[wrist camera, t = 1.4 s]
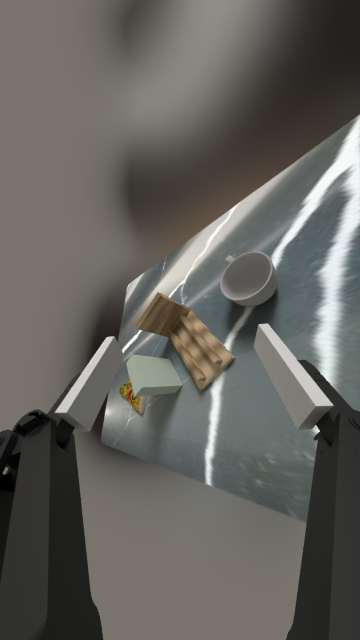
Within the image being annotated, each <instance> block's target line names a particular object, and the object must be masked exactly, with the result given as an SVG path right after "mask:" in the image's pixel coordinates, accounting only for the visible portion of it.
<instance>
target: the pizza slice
mask: <svg viewBox="0 0 360 640" xmlns="http://www.w3.org/2000/svg"><path fill="white" fill-rule="evenodd" d="M119 392H120V393H121V395H122V396H123V397H124V398H126V399H127V400H128V401H129V402H130V404H131V405H132V406H133V408H134V409H135V410H136V411H139V413H140V414H144V411H145V405H146V398H147V396H138V397H134V393H133V389H132V385H131V380H129V382H128V383H127V384H125V385H124V386H123V387H122V388H121V389H120V391H119Z"/></svg>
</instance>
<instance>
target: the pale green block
mask: <svg viewBox="0 0 360 640" xmlns="http://www.w3.org/2000/svg"><path fill="white" fill-rule="evenodd" d="M127 368H128V372H129V376H130V380H131V385H132V389H133V393H134V397H138V396H148V395H158V394H169V393H176V392H177V391H178V390H179V389H180V388H181V387H182V386H183V385H182V383H181V381H180V379H179V377H178V375H177V373H176V371H175V369H174V367H173V365H172V363H171V361H170V359H163V358H155V357H147V356H139V355H132V356H131V358H130V359H129V360H128V362H127Z"/></svg>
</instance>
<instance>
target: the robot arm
mask: <svg viewBox="0 0 360 640" xmlns="http://www.w3.org/2000/svg"><path fill="white" fill-rule="evenodd" d="M254 349H255V351H256V353H257V355H258V357H259V358H260V360H261V362H262V364H263V366H264V368H265V370H266V371H267V373H268V375H269V377H270V379H271V381H272V383H273V384H274V386H275V388H276V390H277V392H278V394H279V396H280V397H281V399H282V401H283V403H284V405H285V407H286V409H287V410H288V412H289V414H290V416H291V418H292V420H293V422H294V423H295V425H296V427H297V429H312V428H313V427H314V426H315V425H317V427H318V429H319V430H320V432H319V433H318V434H317V435H316V436H315V437H314V440H317V439H318V443H317V451H316V458H315V466H314V473H313V481H312V488H311V496H310V503H309V510H308V518H307V525H306V533H305V540H304V548H303V556H302V563H301V571H300V578H299V585H298V593H297V600H296V607H295V615H294V621H293V624H292V627H291V629H290V631H289V632H288V635H287V639H286V640H360V412H359V411H356V410H353V409H352V408H351V407H350V406H349V405H348V404H347V403H346V401H345V400H344V399H343V398H342V397H341V396H340V395H339V394H338V392H337V391H336V390H335V389H334V388H333V387H332V386H331V385H330V383H329V382H328V381H326V379H325V378H324V377H323V376H322V375H321V374H320V372H319V371H318V370H317V369H316V368H315V367H314V366H313V365H312V364H310V363H309V362H307V361H306V360H297V359H296V358H295V357H294V356H293V354H292V353H291V352H290V351H289V349H288V348H287V347H286V346H285V344H284V343H283V342H282V341H281V339H280V338H279V337H278V336H277V334H276V333H275V332H274V331H273V329H272V328H271V327H270V326H269V324H258V329H257V333H256V338H255V343H254ZM123 358H124V354H123V352H122V350H121V348H120V347H119V345H118V343H117V341H116V339H115V337H107V338H106V339H105V341H104V342H103V343H102V345H101V346H100V348H99V349H98V351H97V352H96V354H95V355H94V356H93V358H92V359H91V361H90V362H89V364H88V365H87V367H86V368H85V370H84V371H83V372H82V373H79V374H78V375H77V376H75V377H74V378H73V379H72V381H71V382H70V384H69V385H68V387H67V388H66V389H65V390H64V393H62V395H61V396H60V397H59V399H58V400H57V401H56V403H55V404H54V406H53V407H52V408H51V410H50V411H49V412H48V414H45V413H44V412H42V411H41V410H33V411H31V412H29V413H28V414H26V415H25V416H23V417H22V418H21V419H20V420H19V421H18V422H17V423H16V425H15V426H14V428H13V431H11V430H5V431H2V432H0V640H103V635H102V627H101V621H100V616H99V612H98V609H97V607H96V606H95V604H94V603H93V601H92V597H91V592H90V583H89V573H88V564H87V554H86V545H85V536H84V526H83V517H82V506H81V497H80V487H79V478H78V469H77V460H76V449H75V440H74V434H73V433H72V432H73V430H74V428H75V429H77V430H78V431H90V429H91V427H92V425H93V423H94V421H95V419H96V417H97V414H98V412H99V410H100V408H101V406H102V404H103V401H104V399H105V397H106V395H107V393H108V391H109V389H110V386H111V384H112V382H113V380H114V378H115V376H116V373H117V371H118V369H119V367H120V365H121V363H122V360H123ZM5 467H7V468H8V471H7V473H6V474H5V475H3V471H4V469H5Z"/></svg>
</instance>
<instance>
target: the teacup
mask: <svg viewBox="0 0 360 640" xmlns="http://www.w3.org/2000/svg"><path fill="white" fill-rule="evenodd" d="M225 261H226V262H227V263H228V264H229V265H228V266H227V268H226V269H225V271H224V272H223V274H222V277H221V281H220V287H221V291H222V293H223V295H224V296H225V297H227V298H228V299H230V300H232V301H234V302H236V303H237V304H240V305H242V306H257V305H260V304H262V303H264V302H265V301H267V300H268V299H269V298H270V297H271V296H272V295H273V294H274V292H275V291H276V288H277V285H278V275H277V272H276V270H275V268H274V266H273V263H272V261H271V259H270V257H269V256H268V255H266V254H264V253H262V252H258V251H254V252H248V253H245V254H243V255H241V256H239V257H237V258H236V259H233V258H232V257H231V256H228V257H227V258H226V259H225Z"/></svg>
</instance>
